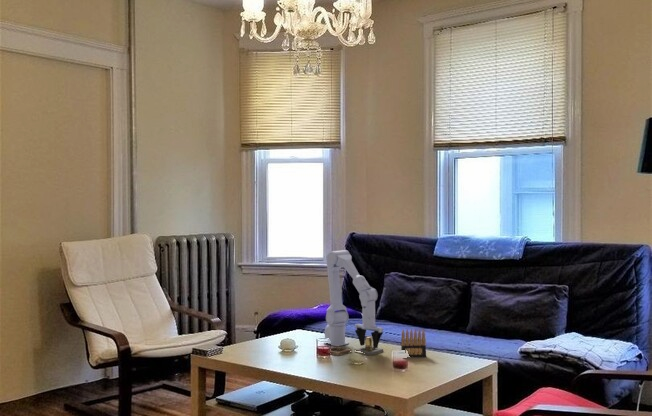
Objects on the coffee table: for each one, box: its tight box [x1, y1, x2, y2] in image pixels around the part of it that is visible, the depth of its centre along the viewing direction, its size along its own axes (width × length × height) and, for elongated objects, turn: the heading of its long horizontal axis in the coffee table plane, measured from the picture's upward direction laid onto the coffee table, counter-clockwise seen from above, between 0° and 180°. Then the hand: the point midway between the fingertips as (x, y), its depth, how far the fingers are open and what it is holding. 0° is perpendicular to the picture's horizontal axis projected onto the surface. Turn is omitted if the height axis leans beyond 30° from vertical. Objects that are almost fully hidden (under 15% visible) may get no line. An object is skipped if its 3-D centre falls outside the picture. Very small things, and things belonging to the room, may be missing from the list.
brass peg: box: [364, 336, 373, 351], centre depth 291 cm, size 3×3×6 cm
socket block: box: [354, 346, 384, 356], centre depth 291 cm, size 9×9×1 cm
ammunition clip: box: [400, 328, 427, 358], centre depth 282 cm, size 11×2×12 cm, turn 91°
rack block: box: [330, 346, 352, 357], centre depth 291 cm, size 9×9×1 cm
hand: (368, 346), depth 291 cm, fingers open, 7 cm apart
